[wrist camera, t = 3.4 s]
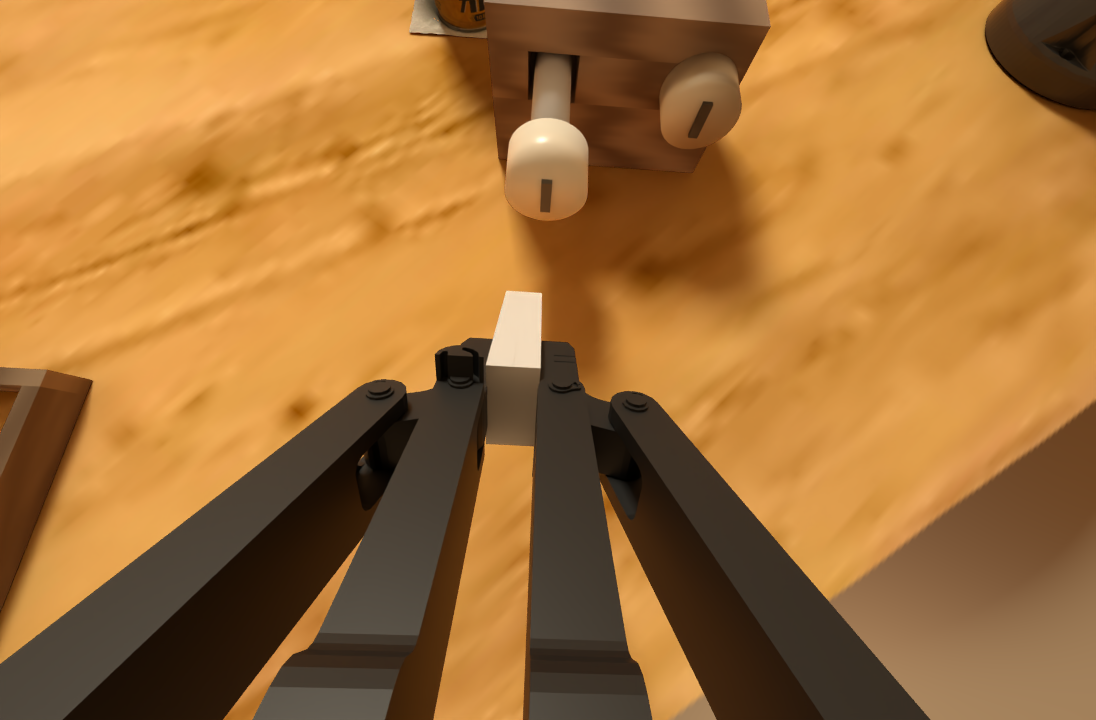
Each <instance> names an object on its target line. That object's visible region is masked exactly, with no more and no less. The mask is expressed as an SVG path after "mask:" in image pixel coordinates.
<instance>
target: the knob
mask: <svg viewBox="0 0 1096 720" xmlns="http://www.w3.org/2000/svg"><path fill="white" fill-rule="evenodd" d="M571 70H572V55H569V54H556V53H544V52H536V59H535V72H534V86H533V99H532V112H531V121H529V122H527V123H525V124H523V125H522V126H520V127H519V128H518V129H517V130H516V131H515V132H514V133H513V135H512V137H511V139H510V142H509V147H508V158H507V169H506V179H505V196H506V199H507V201H508V202H509V204H510V205H511V206H512V207H513V208H514V209H515V210H516V211H518V212H519V213H521V214H523V215H525V216H527V217H530V218H533V219H537V220H544V221H552V220H560V219H564V218H567V217H569V216H572V215H573V214H575V213H577V212H578V211H579V210H580V209H581V208H582V207H583V206H584V204H585V202H586V200H587V195H588V145H587V142H586V139H585V138H584V136H583V134H582V133H581V132H580V131H579V130H578V129H577V128H576V127H574V126H573V125H571V124H569V123H570V96H571Z"/></svg>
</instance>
